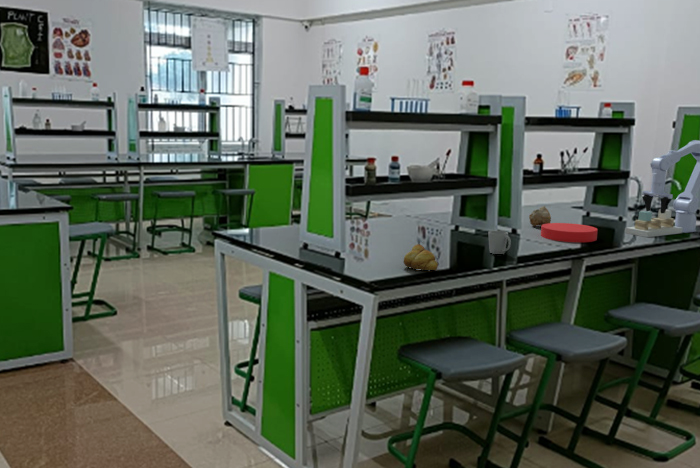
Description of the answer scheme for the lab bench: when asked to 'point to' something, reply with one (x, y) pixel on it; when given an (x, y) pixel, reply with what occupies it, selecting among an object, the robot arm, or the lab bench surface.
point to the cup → (498, 242)
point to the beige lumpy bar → (654, 223)
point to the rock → (540, 217)
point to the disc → (569, 232)
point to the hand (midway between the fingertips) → (655, 212)
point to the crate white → (665, 214)
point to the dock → (654, 231)
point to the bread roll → (420, 259)
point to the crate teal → (645, 216)
